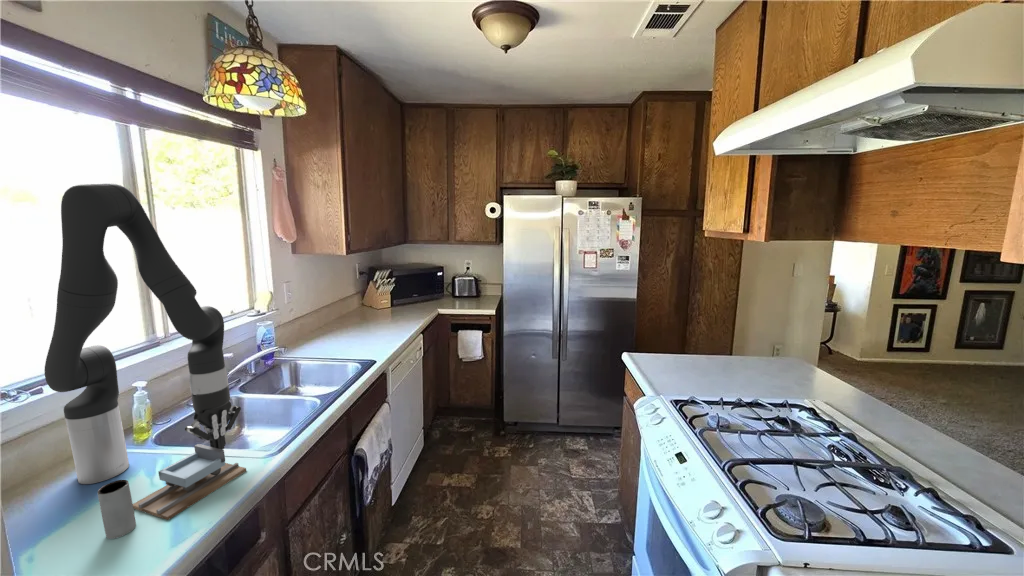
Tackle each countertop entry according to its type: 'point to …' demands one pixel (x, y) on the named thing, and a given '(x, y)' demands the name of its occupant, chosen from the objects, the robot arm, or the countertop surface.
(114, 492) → the grey cylindrical cup
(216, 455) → the grey open box
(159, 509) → the rail board
